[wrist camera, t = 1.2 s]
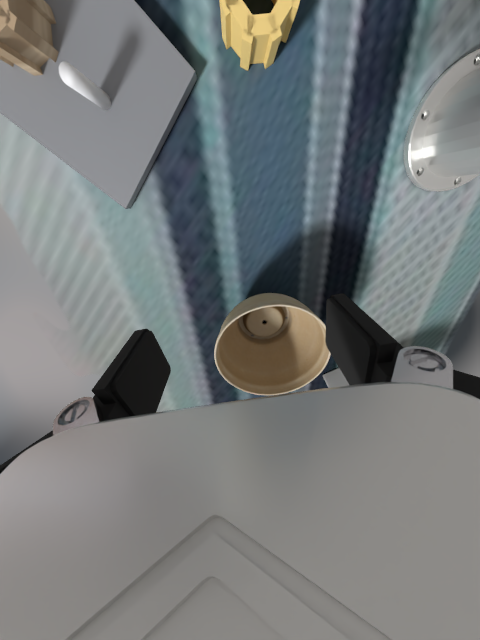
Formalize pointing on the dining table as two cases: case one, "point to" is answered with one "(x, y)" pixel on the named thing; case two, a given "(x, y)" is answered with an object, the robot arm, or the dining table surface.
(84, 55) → the gear board
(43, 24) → the beech gear
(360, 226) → the dining table surface
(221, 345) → the planter bowl
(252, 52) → the ochre gear
